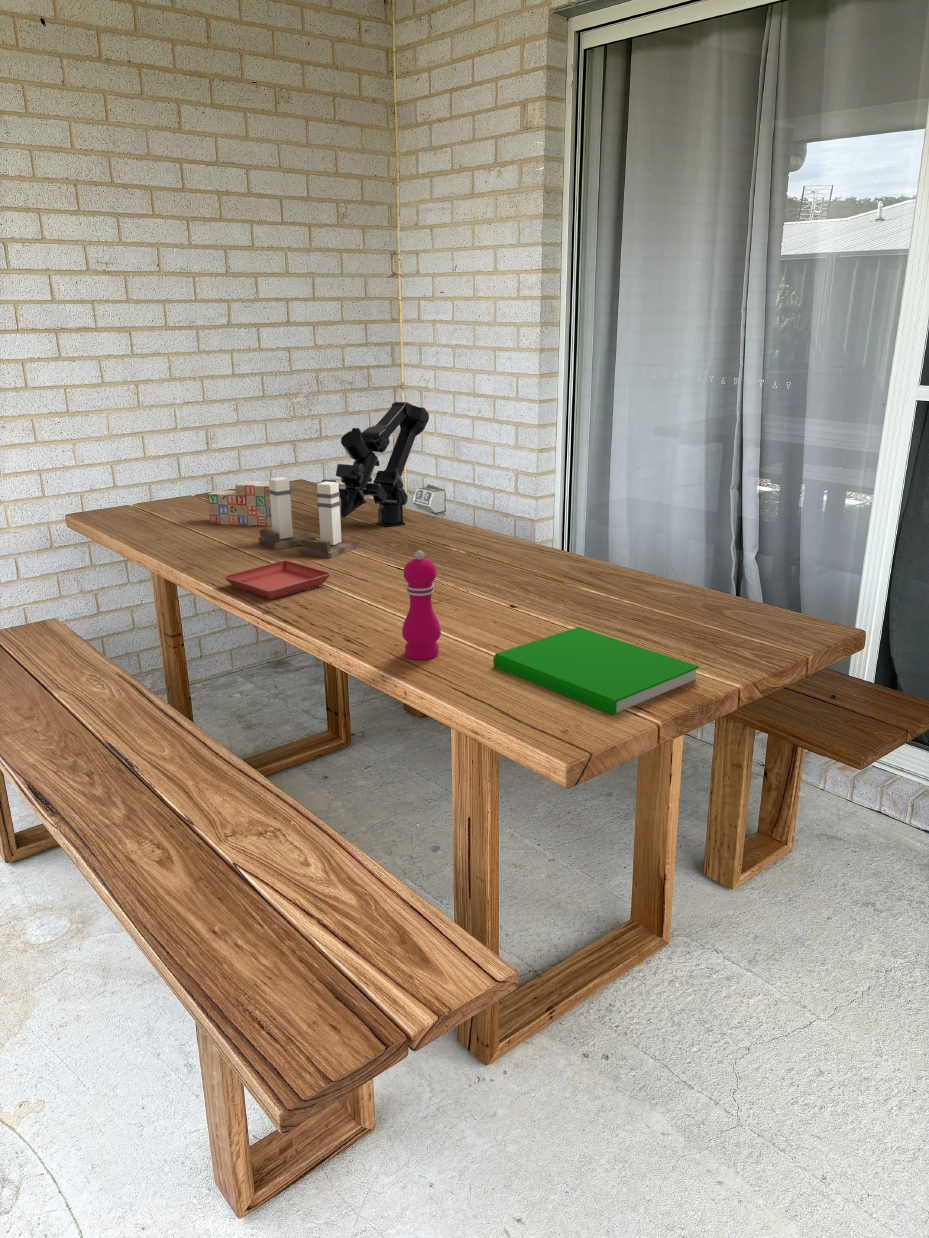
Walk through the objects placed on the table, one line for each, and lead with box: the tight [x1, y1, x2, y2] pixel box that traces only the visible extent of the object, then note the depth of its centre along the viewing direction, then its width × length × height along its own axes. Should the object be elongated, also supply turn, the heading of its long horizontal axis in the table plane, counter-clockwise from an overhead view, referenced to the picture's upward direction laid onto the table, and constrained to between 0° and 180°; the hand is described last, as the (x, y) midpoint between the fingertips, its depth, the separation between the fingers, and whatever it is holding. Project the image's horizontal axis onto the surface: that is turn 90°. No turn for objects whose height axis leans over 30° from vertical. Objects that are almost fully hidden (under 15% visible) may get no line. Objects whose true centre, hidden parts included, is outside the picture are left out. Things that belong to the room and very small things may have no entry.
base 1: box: [258, 528, 316, 550], centre depth 257 cm, size 12×10×4 cm
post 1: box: [268, 476, 294, 539], centre depth 254 cm, size 4×4×16 cm
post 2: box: [316, 481, 343, 545], centre depth 247 cm, size 4×4×16 cm
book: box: [492, 626, 700, 716], centre depth 165 cm, size 22×28×3 cm
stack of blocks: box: [207, 481, 272, 527], centre depth 280 cm, size 21×6×12 cm, turn 79°
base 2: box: [298, 539, 356, 559], centre depth 248 cm, size 12×10×4 cm
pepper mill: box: [401, 550, 442, 660], centre depth 172 cm, size 7×7×20 cm
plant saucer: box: [223, 559, 332, 600], centre depth 218 cm, size 18×18×3 cm
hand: (342, 516), depth 253 cm, fingers closed
